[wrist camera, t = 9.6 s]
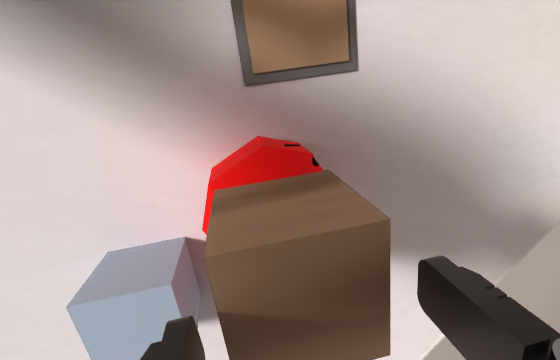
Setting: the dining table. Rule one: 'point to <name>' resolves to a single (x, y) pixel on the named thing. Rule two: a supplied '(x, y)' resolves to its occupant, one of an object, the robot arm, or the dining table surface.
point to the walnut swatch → (294, 38)
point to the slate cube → (135, 299)
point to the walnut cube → (300, 270)
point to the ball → (259, 166)
